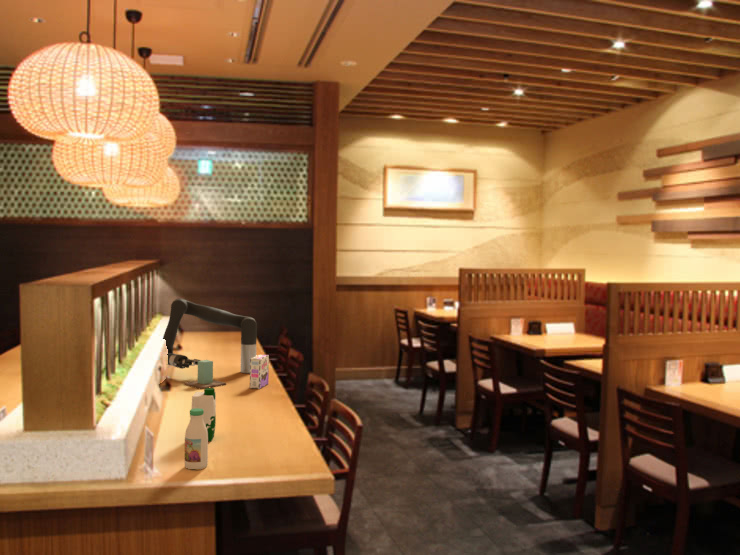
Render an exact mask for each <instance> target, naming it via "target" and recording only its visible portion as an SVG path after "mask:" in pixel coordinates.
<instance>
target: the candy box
mask: <svg viewBox="0 0 740 555" xmlns="http://www.w3.org/2000/svg"><path fill="white" fill-rule="evenodd" d="M269 363H270V356H269V354H258V355H256V357H253V358H250V373H249V389H254V390H257V389H259V390H260V389H262V388H264V387H265V385H266V386H267V385H269V369H270V368H269V366H270V364H269Z"/></svg>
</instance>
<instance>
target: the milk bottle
mask: <svg viewBox="0 0 740 555" xmlns="http://www.w3.org/2000/svg"><path fill="white" fill-rule="evenodd" d="M203 414H204V410H203V409H200V408H195V409H192V408H191V409H190V410H189V417H190V419H189V423H188V425H187V427H186V430H185V433H184V434H185V435H184V468H185V467H186V468H188V469H187V470H189V469H200V470H203V468H204V469H206V468H207V467H208V465H209V463H208V462H209V442H208V432H207V428H206V426H205V423H204V421H203V416H204V415H203ZM205 467H206V468H205ZM186 468H185V469H186Z"/></svg>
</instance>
